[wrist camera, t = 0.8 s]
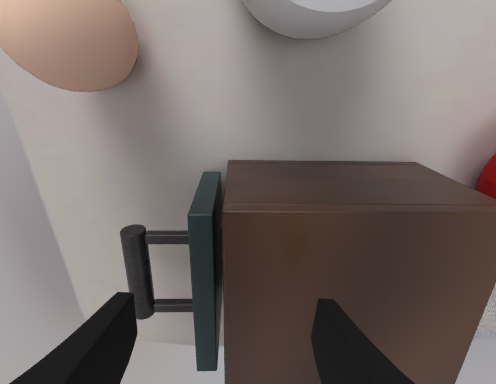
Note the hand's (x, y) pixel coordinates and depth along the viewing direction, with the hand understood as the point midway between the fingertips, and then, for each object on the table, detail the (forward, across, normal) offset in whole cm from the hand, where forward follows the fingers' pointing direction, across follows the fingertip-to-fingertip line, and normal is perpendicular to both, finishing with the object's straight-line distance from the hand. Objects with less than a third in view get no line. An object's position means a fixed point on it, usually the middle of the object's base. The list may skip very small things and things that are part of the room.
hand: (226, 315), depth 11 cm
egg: (+11, +8, -10) cm, 17 cm away
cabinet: (+11, -7, +2) cm, 13 cm away
